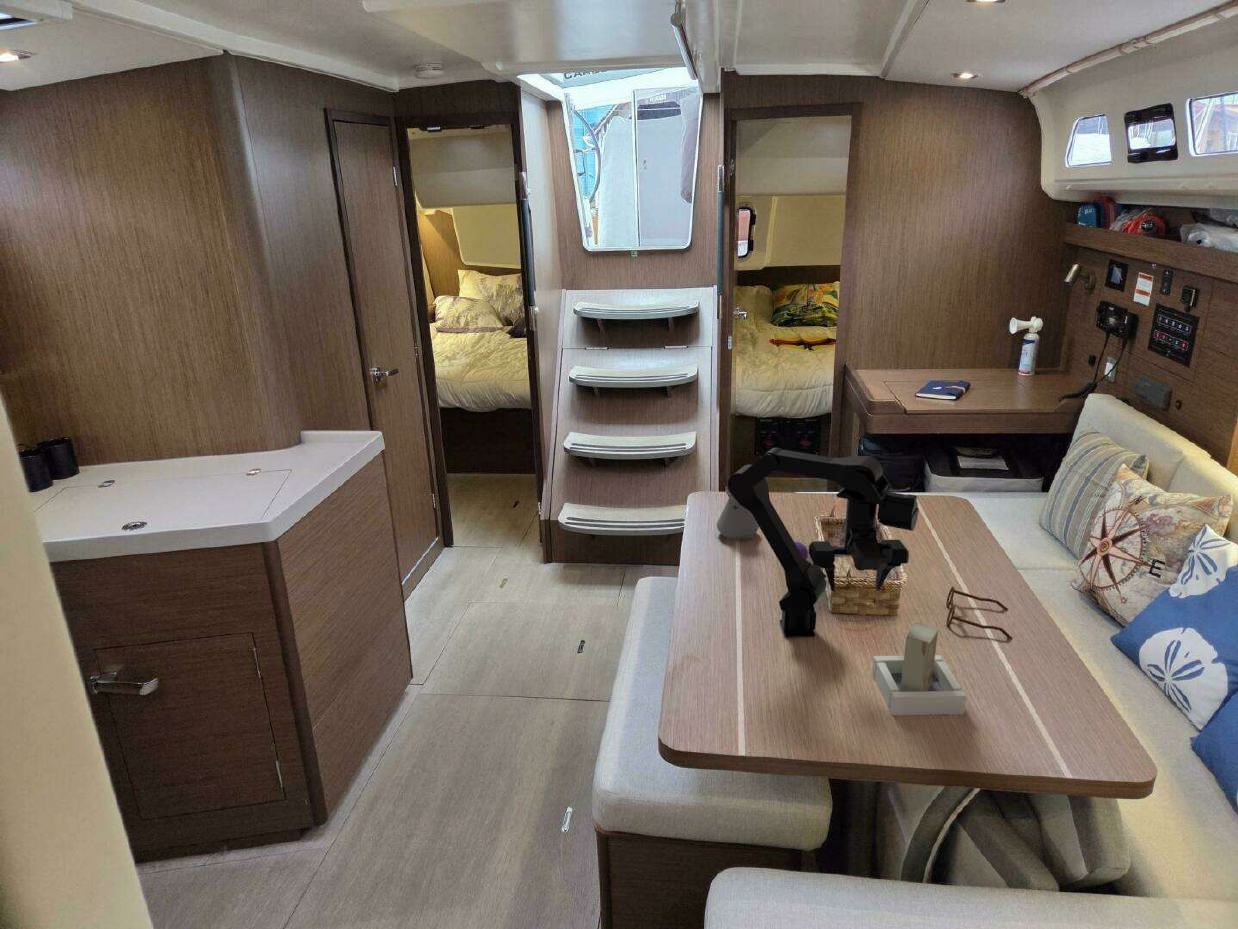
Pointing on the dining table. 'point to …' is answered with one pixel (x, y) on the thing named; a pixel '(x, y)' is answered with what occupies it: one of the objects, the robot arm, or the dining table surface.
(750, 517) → the grey conical vessel
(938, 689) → the socket block
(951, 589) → the glasses
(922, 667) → the skincare box
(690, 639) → the dining table surface
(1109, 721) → the dining table surface
